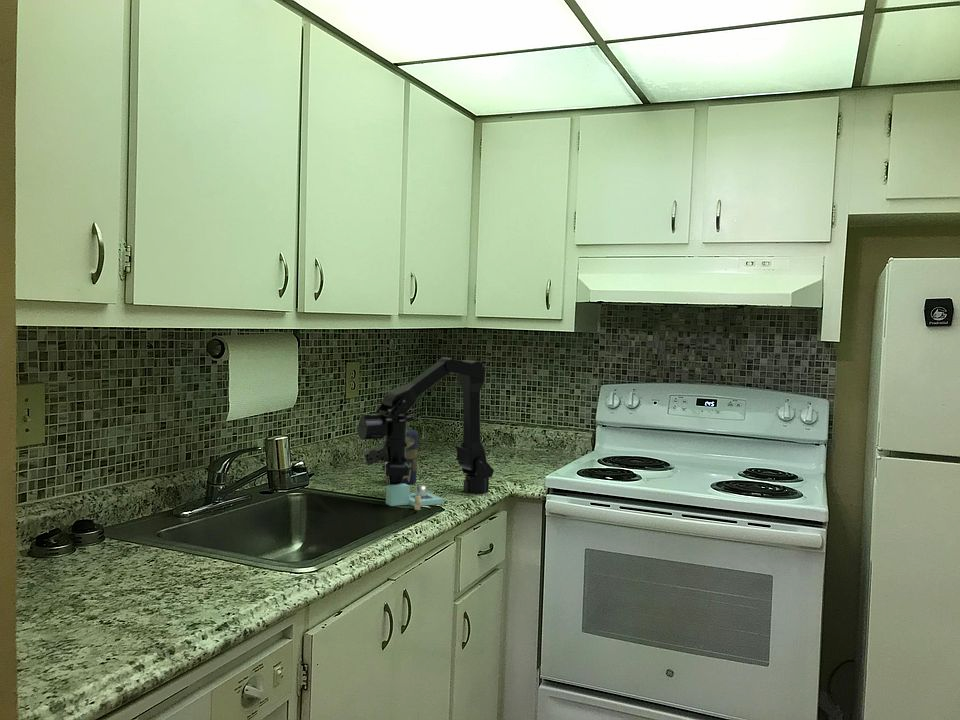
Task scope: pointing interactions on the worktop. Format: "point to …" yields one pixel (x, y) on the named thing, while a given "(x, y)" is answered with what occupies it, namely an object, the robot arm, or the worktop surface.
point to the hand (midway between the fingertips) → (393, 493)
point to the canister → (410, 457)
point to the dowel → (417, 503)
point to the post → (421, 491)
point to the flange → (407, 496)
